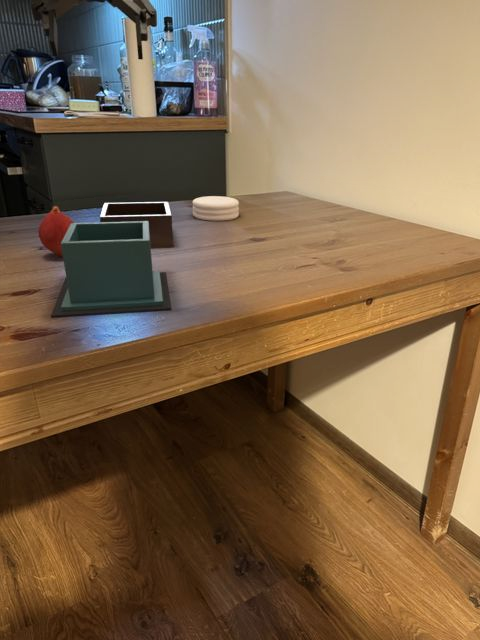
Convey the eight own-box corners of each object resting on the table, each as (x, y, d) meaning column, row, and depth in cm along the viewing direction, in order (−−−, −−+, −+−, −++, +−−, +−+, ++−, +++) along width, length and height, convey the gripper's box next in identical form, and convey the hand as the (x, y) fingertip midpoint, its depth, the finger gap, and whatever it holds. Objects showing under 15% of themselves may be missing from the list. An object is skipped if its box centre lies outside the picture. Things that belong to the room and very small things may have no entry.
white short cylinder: (246, 219, 107) (247, 202, 105) (203, 223, 102) (203, 206, 101) (226, 210, 114) (226, 194, 113) (186, 213, 110) (185, 197, 108)
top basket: (73, 278, 70) (63, 221, 66) (159, 274, 72) (155, 219, 69) (61, 311, 59) (49, 246, 56) (163, 305, 62) (158, 242, 58)
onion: (35, 259, 78) (25, 207, 75) (60, 250, 83) (51, 201, 80) (65, 264, 77) (56, 211, 73) (89, 254, 82) (81, 204, 78)
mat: (66, 279, 71) (65, 276, 70) (166, 274, 74) (165, 271, 73) (51, 318, 59) (50, 315, 58) (171, 311, 61) (171, 308, 61)
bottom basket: (107, 233, 94) (103, 202, 91) (169, 231, 96) (168, 201, 93) (103, 250, 84) (99, 217, 81) (173, 248, 86) (171, 215, 83)
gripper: (9, -73, 82) (8, 25, 75) (164, -60, 87) (174, 33, 81) (22, -27, 89) (22, 67, 83) (164, -17, 94) (174, 72, 88)
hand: (97, 51), depth 82 cm, fingers open, 13 cm apart
